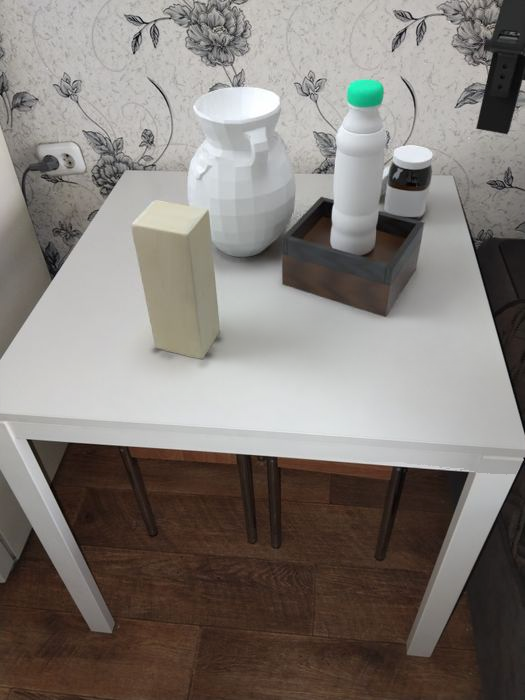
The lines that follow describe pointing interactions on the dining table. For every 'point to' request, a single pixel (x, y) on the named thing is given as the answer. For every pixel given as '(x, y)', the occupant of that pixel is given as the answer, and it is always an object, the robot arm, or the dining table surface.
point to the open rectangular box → (351, 260)
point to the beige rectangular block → (178, 276)
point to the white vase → (242, 170)
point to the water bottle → (358, 170)
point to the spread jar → (407, 182)
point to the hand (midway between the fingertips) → (510, 103)
